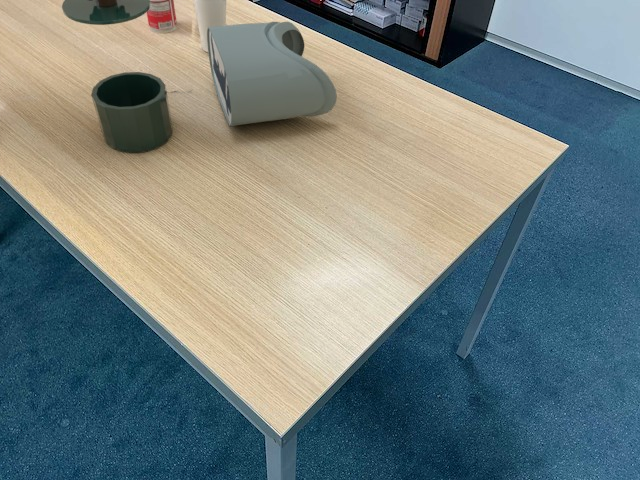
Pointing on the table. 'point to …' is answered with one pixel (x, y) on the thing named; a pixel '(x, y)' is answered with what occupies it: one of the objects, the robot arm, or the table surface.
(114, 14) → the lid
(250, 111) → the gray curved housing
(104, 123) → the pot
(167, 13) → the pill bottle
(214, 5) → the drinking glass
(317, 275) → the table surface
